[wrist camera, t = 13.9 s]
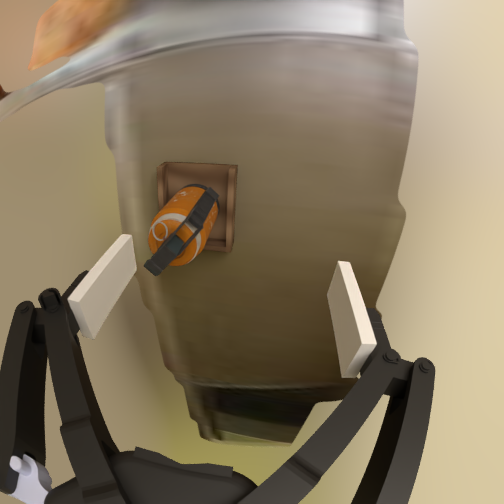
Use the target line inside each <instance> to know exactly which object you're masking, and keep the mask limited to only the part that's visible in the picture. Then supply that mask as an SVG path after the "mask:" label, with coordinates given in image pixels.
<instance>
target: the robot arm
mask: <svg viewBox="0 0 504 504" xmlns="http://www.w3.org/2000/svg"><path fill="white" fill-rule="evenodd" d="M136 270H137V268H136V261H135V254H134V247H133V240H132V235H126V234H121V236H120V237H119V238H118V239H117V240H116V241H115V242H114V243H113V244H112V246H111V247H110V248H109V249H108V250H107V251H106V252H105V254H104V255H103V256H102V257H101V258H100V259H99V261H98V262H97V263H96V264H95V265H94V266H93V268H92V269H91V270H90V271H87V270H86V271H84V272H83V273H81V274H79V275H78V277H77V278H76V279H75V280H74V282H73V283H72V284H71V286H69V288H68V289H67V290H66V291H65V293H64V294H63V295H62V296H60V293H59V291H58V290H57V289H56V288H49V289H46V290H44V291H43V292H42V293H41V294H40V295H39V298H38V300H39V303H40V305H41V307H42V308H35V307H34V305H33V303H32V302H31V301H24V302H22V303H20V304H19V305H18V306H17V307H16V310H15V312H14V316H13V319H12V323H11V326H10V330H9V334H8V337H7V342H6V346H5V350H4V355H3V360H2V365H1V370H0V491H1V492H3V493H5V494H7V495H9V496H12V497H14V498H17V499H19V500H21V501H23V502H25V503H27V504H298V503H299V502H300V501H301V500H302V499H303V498H304V497H305V496H306V495H307V494H308V493H309V492H310V491H311V490H312V489H313V488H314V487H315V485H316V484H317V483H318V482H319V480H320V479H321V477H322V475H323V474H324V473H325V472H326V471H327V470H328V468H329V467H330V466H331V465H332V464H333V463H334V461H335V460H336V459H337V458H338V457H339V455H340V454H341V453H342V452H343V450H344V449H345V448H346V446H347V445H348V444H349V443H350V441H351V440H352V438H353V437H354V436H355V435H356V433H357V432H358V430H359V429H360V427H361V426H362V425H363V424H364V422H365V421H366V419H367V418H368V416H369V415H370V413H371V412H372V410H373V409H374V407H375V406H376V404H377V403H378V401H379V400H380V398H381V396H382V395H383V394H385V395H389V396H390V399H389V403H388V406H387V410H386V413H385V417H384V420H383V424H382V426H381V430H380V433H379V436H378V439H377V442H376V445H375V447H374V450H373V453H372V456H371V458H370V461H369V463H368V466H367V468H366V471H365V473H364V476H363V478H362V480H361V483H360V485H359V487H358V490H357V492H356V494H355V496H354V498H353V500H352V503H351V504H408V501H409V498H410V495H411V492H412V489H413V486H414V483H415V479H416V476H417V472H418V469H419V465H420V461H421V457H422V453H423V449H424V444H425V440H426V435H427V430H428V424H429V418H430V412H431V405H432V398H433V390H434V379H435V367H434V365H433V363H432V362H431V361H430V360H428V359H427V358H423V357H422V358H418V359H417V360H416V361H415V362H414V363H413V362H409V361H406V360H403V359H401V357H400V355H399V354H398V353H397V352H396V351H395V350H394V349H391V347H390V344H389V341H388V338H387V335H386V332H385V329H384V326H383V324H382V320H381V318H380V315H379V314H378V312H377V311H376V310H375V309H374V308H365V305H364V302H363V299H362V296H361V293H360V290H359V287H358V284H357V282H356V279H355V276H354V273H353V271H352V268H351V265H350V263H349V262H344V261H338V263H337V266H336V269H335V272H334V275H333V278H332V281H331V285H330V288H329V291H328V294H327V297H328V302H329V307H330V312H331V317H332V322H333V328H334V333H335V339H336V344H337V350H338V356H339V362H340V368H341V375H342V378H356V376H357V375H358V373H359V372H360V375H361V377H360V379H359V380H358V381H357V383H356V384H355V385H354V387H353V388H352V389H351V390H350V392H349V393H348V394H347V396H346V397H345V398H344V399H343V401H342V402H341V403H340V404H339V406H338V407H337V408H336V409H335V410H334V411H333V413H332V414H331V415H330V416H329V418H327V420H326V421H325V422H324V423H323V424H322V425H321V426H320V428H319V429H318V430H317V431H316V432H315V433H314V434H313V435H312V436H311V437H310V439H309V440H308V441H307V442H306V443H305V444H304V445H303V446H302V447H301V448H300V449H299V450H298V451H297V452H296V453H295V454H294V455H293V456H292V457H291V458H290V459H288V460H287V461H286V462H285V463H284V464H283V465H282V466H281V467H280V468H279V469H278V470H277V471H276V472H274V473H273V474H272V475H271V476H270V477H269V478H268V479H267V480H265V481H264V482H263V483H262V484H261V485H260V486H257V485H256V484H255V483H254V482H253V481H252V480H250V479H249V478H247V477H245V476H244V475H242V474H240V473H238V472H235V471H233V467H230V466H222V465H215V464H209V463H207V464H180V463H178V462H175V461H173V460H172V459H169V458H167V457H165V456H163V455H162V454H160V453H157V452H153V451H150V450H146V449H143V448H139V447H136V448H135V451H124V452H120V451H119V450H118V448H117V446H116V445H115V443H114V442H113V440H112V438H111V436H110V433H109V431H108V429H107V426H106V424H105V421H104V419H103V416H102V413H101V411H100V408H99V405H98V403H97V400H96V397H95V394H94V391H93V388H92V385H91V382H90V379H89V375H88V372H87V369H86V365H85V362H84V358H83V354H82V351H81V346H80V342H79V338H78V336H77V333H78V331H79V330H80V331H81V333H82V336H83V337H86V338H90V339H94V338H95V337H96V335H97V333H98V332H99V330H100V328H101V326H102V325H103V323H104V321H105V319H106V318H107V316H108V315H109V313H110V311H111V310H112V308H113V306H114V305H115V303H116V302H117V300H118V298H119V297H120V295H121V294H122V292H123V290H124V289H125V287H126V285H127V284H128V283H129V281H130V280H131V278H132V276H133V275H134V273H135V272H136ZM47 358H48V359H49V365H50V371H51V376H52V382H53V387H54V392H55V396H56V400H57V404H58V409H59V412H60V416H61V420H62V426H61V427H60V432H61V436H62V439H63V442H64V445H65V448H66V451H67V454H68V457H69V460H70V462H71V465H72V468H73V470H74V473H75V475H76V477H74V478H72V479H71V480H69V481H67V482H65V483H63V484H61V485H59V486H57V487H55V488H54V489H52V488H51V484H52V479H51V477H50V476H49V473H48V471H47V469H46V468H45V460H46V451H45V450H46V448H45V428H44V427H45V425H44V404H45V402H44V401H45V381H46V368H47Z"/></svg>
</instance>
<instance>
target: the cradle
mask: <svg viewBox="0 0 504 504" xmlns="http://www.w3.org/2000/svg"><path fill="white" fill-rule="evenodd" d="M237 166H238V165H226V164H208V163H183V162H164V163H163V164H161V165H159V166H158V167H157V183H158V202H159V212H160V211H161V209H162V208H163V207H164V206H165V205H166V204H167V203H168V202H169V201H170V200H171V199H172V198H173V196H174V195H175V194H176V193H177V192H178V191H179V190H180V189H181V188H183V187H184V186H186V185H189V184H201V185H204V186H206V187H208V188H209V187H211V188H212V189H213V190H214V191H215V192H216V193H217V194H218V195H219V197H218V201H219V206H220V208H219V214H218V216H217V219H216V221H215V223H214V225H213V228H212V230H211V232H210V234H209V237H208V239H207V241H206V243H205V246H204V248H203V250H213V251H223V252H231V250H232V246H233V242H234V222H235V202H236V184H237Z"/></svg>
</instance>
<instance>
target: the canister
mask: <svg viewBox="0 0 504 504" xmlns="http://www.w3.org/2000/svg"><path fill="white" fill-rule="evenodd" d="M218 197H219V195H218V194H217V193H216V192H215V191H214V190H213V189H212V188H211V187H209V188H208V187H206V186H204V185H201V184H189V185H186V186H184V187H183V188H181V189H180V190H179V191H178V192H177V193H176V194H175V195H174V196H173V198H172V199H171V200H170V201H169V202H168V203H167V204H166V205H165V206H164V207H163V208H162V209H161V211H160V212H159V213H158V214H157V215H156V216H155V218H154V219H153V221H152V224H151V228H150V230H149V234H148V242H149V247H150V249H151V251H152V253H153V254H154V255H153V256H152V257H151V259H149V260H147V261H146V263H145V264H144V267H145V268H146V269H148V270H149V271H150V272H151V273H152V274H153V275H155V276H156V275H157V276H158V275H159V274H160V273H161V272H162V271H163V270H164V269H165V268H166V267H167V266H168V265H171V266H181V265H184V264H187V263H189V262H190V261H192V260H193V259H194V258H195V257H196V256H197V255H198V254H199V253H200V252H201V251H202V250H203V248H204V246H205V243H206V241H207V239H208V237H209V234H210V232H211V230H212V228H213V225H214V223H215V221H216V219H217V216H218V214H219V208H220V206H219V201H218Z"/></svg>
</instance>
